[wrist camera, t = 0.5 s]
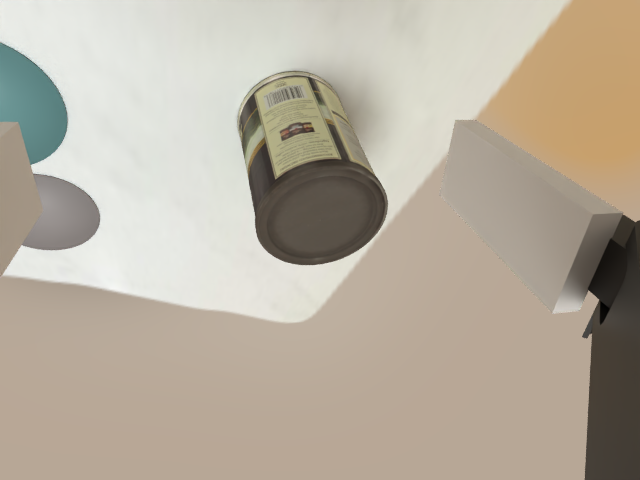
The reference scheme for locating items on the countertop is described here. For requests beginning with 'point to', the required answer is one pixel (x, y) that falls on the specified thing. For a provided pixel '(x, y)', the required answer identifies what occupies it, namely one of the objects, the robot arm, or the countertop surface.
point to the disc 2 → (62, 216)
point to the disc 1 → (31, 104)
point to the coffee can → (307, 172)
